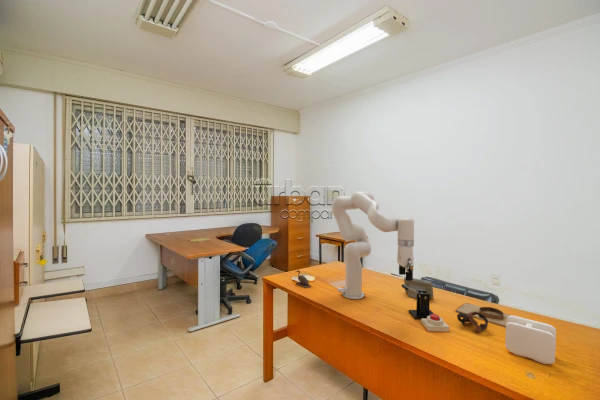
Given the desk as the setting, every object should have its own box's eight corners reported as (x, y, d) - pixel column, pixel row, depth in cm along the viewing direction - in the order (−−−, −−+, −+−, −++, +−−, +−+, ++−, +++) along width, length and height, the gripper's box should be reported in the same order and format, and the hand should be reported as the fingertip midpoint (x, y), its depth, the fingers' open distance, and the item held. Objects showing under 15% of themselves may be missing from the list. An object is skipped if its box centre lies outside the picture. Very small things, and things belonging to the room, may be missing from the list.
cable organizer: (502, 351, 109) (503, 321, 108) (507, 340, 116) (507, 313, 116) (554, 368, 98) (555, 335, 98) (556, 355, 106) (557, 325, 105)
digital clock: (435, 298, 162) (435, 280, 162) (427, 302, 156) (427, 283, 156) (408, 291, 174) (409, 274, 174) (400, 294, 169) (401, 276, 168)
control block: (428, 331, 124) (428, 322, 124) (421, 322, 132) (421, 314, 132) (449, 331, 124) (449, 322, 124) (440, 323, 132) (440, 314, 132)
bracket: (414, 319, 136) (415, 294, 136) (408, 311, 144) (409, 289, 144) (437, 319, 136) (438, 295, 135) (430, 312, 144) (430, 289, 143)
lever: (404, 290, 137) (406, 285, 137) (400, 286, 142) (402, 282, 142) (426, 300, 137) (428, 296, 137) (422, 297, 142) (424, 292, 142)
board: (523, 319, 135) (523, 313, 135) (515, 330, 125) (516, 322, 125) (466, 304, 154) (466, 298, 154) (455, 311, 144) (455, 305, 144)
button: (432, 321, 126) (432, 317, 126) (429, 317, 129) (429, 313, 129) (440, 321, 126) (440, 317, 126) (437, 317, 129) (437, 313, 129)
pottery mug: (478, 324, 132) (487, 312, 128) (483, 341, 124) (493, 330, 120) (452, 315, 134) (459, 303, 130) (455, 332, 126) (463, 320, 122)
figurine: (292, 282, 190) (292, 269, 190) (297, 281, 193) (297, 268, 193) (305, 288, 179) (305, 274, 179) (310, 286, 182) (311, 273, 182)
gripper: (392, 240, 148) (392, 272, 148) (404, 246, 130) (404, 282, 131) (407, 240, 148) (406, 272, 148) (420, 246, 130) (420, 282, 131)
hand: (405, 277), depth 139 cm, fingers open, 9 cm apart
